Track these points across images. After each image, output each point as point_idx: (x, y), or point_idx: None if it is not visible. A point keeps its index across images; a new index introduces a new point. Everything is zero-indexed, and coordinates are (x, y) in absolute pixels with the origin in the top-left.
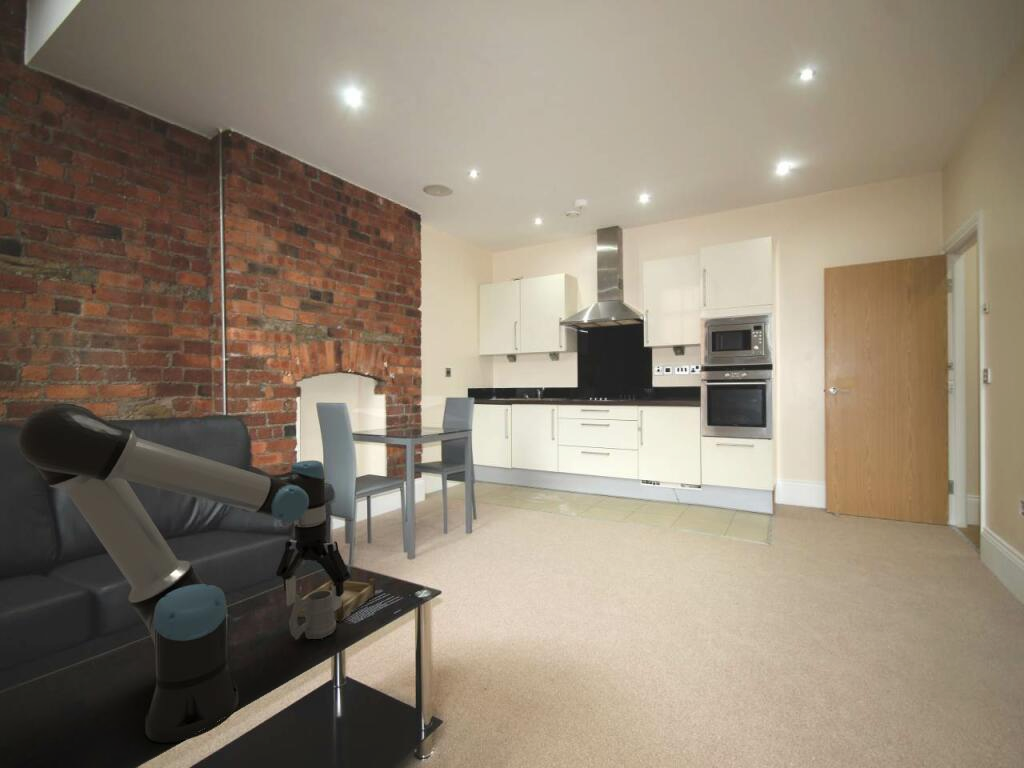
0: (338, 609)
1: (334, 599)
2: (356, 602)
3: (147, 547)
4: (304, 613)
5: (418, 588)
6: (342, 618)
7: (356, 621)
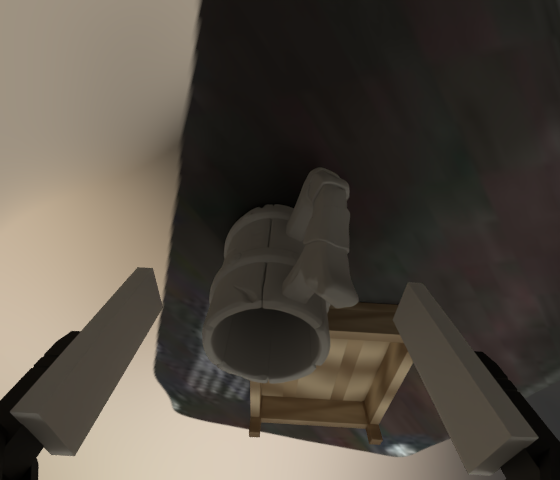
0: None
1: (99, 310)
2: None
3: None
4: (377, 312)
5: (184, 413)
6: None
7: None
